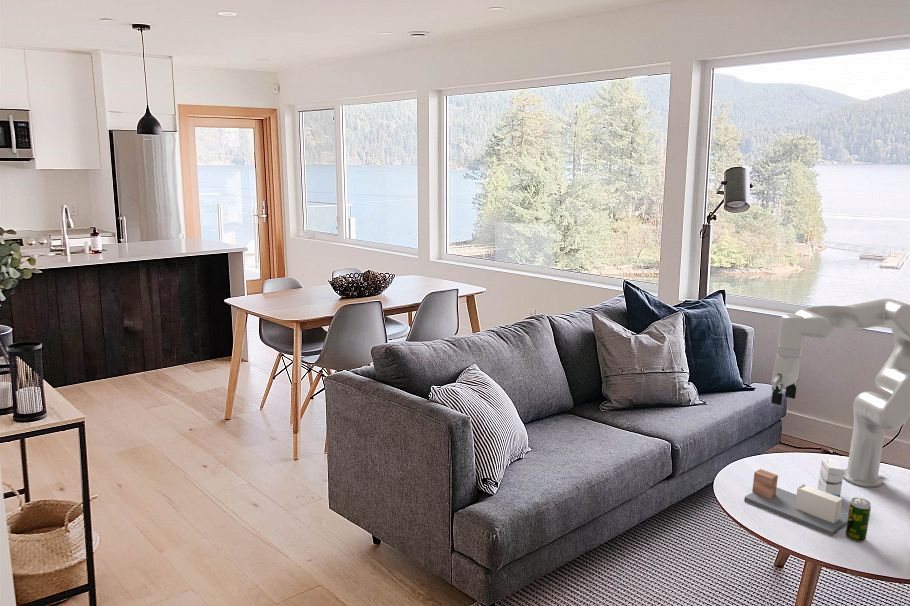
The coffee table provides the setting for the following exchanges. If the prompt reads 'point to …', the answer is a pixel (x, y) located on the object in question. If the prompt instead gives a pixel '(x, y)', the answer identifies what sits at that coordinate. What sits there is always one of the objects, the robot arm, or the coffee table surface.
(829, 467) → the ink box
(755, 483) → the stub
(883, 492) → the coffee table surface
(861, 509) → the beer can
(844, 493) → the coffee table surface
